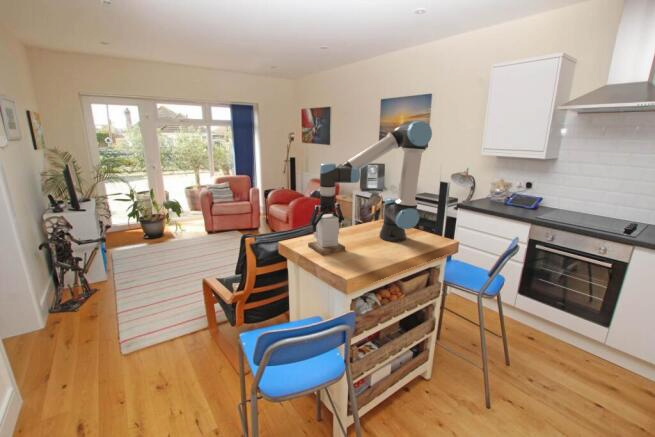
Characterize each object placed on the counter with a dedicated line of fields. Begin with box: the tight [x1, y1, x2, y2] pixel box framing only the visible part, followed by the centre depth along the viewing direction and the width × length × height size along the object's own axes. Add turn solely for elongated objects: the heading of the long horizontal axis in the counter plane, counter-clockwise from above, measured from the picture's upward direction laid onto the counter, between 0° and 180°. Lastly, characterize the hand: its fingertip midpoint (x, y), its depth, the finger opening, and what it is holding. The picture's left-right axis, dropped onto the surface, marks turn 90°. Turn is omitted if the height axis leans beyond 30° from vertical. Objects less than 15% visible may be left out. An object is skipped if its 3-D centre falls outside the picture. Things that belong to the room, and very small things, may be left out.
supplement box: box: [316, 213, 339, 247], centre depth 159 cm, size 9×9×15 cm
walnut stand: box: [307, 240, 346, 256], centre depth 161 cm, size 14×14×2 cm
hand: (326, 235), depth 159 cm, fingers open, 12 cm apart
